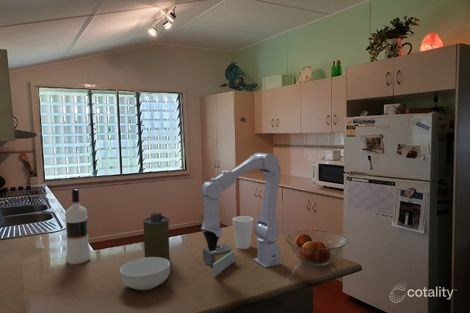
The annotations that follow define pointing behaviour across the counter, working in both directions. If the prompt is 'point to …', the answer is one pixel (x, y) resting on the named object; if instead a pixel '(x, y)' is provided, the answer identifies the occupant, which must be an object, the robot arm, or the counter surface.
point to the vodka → (77, 232)
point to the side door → (223, 263)
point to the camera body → (215, 253)
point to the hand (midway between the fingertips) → (212, 250)
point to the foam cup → (243, 231)
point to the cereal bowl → (145, 272)
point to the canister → (156, 236)
